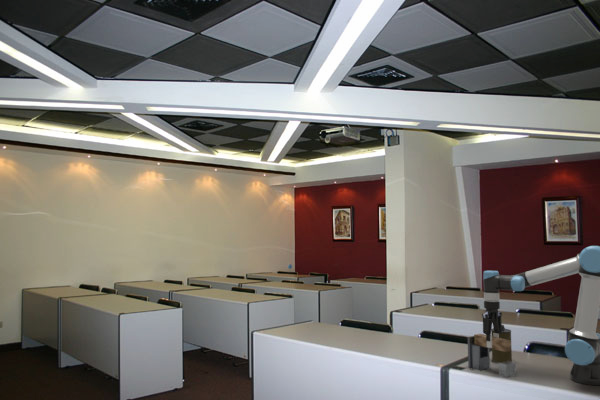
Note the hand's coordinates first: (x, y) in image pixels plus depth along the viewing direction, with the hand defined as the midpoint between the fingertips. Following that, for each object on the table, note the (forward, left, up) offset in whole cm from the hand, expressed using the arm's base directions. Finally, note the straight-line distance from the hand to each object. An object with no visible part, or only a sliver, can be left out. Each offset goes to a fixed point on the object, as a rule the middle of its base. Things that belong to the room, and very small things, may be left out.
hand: (492, 346), depth 238 cm
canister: (+10, -22, -13) cm, 27 cm away
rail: (0, 0, 0) cm, 1 cm away
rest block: (-8, 0, -12) cm, 14 cm away
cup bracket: (+9, 0, -12) cm, 15 cm away
